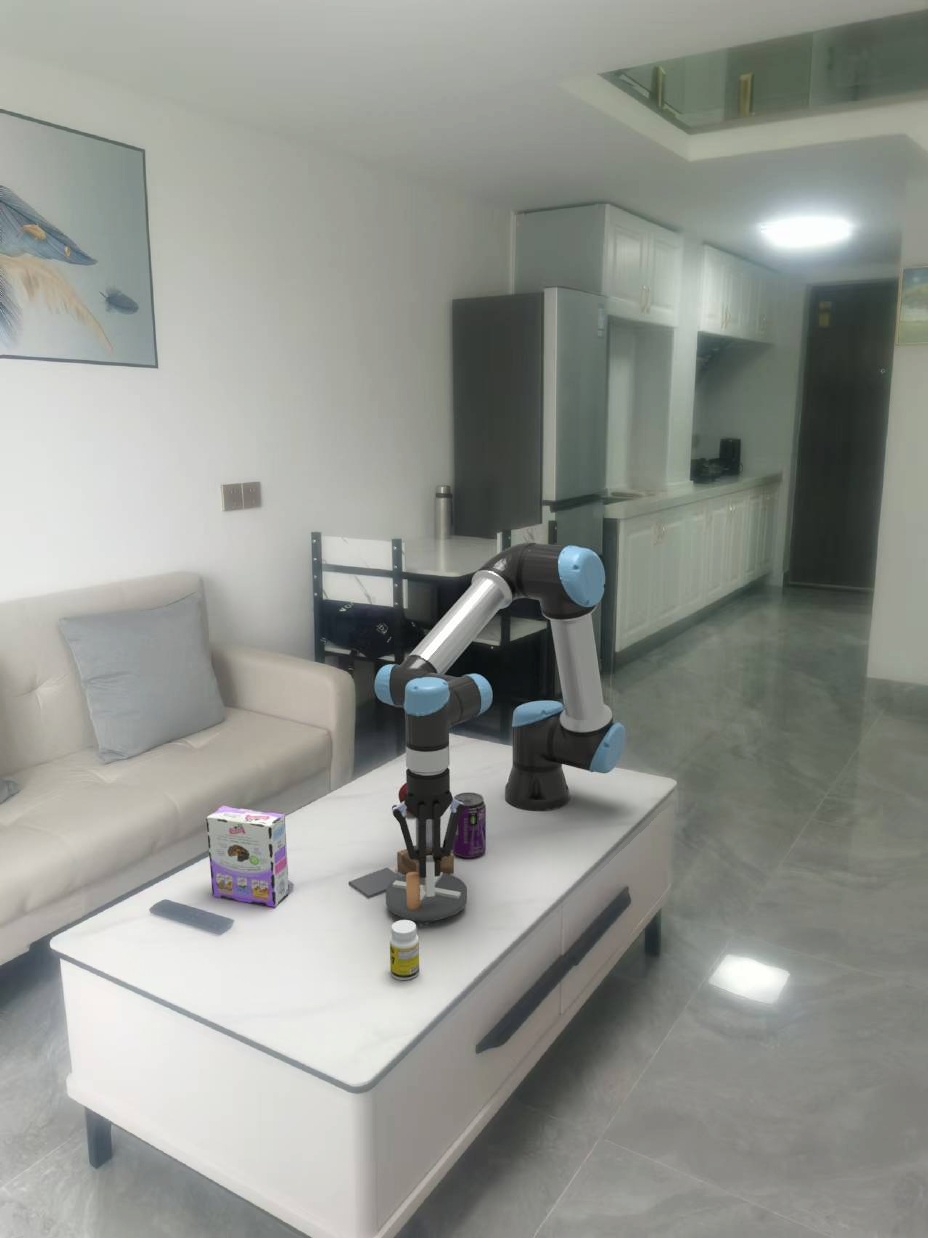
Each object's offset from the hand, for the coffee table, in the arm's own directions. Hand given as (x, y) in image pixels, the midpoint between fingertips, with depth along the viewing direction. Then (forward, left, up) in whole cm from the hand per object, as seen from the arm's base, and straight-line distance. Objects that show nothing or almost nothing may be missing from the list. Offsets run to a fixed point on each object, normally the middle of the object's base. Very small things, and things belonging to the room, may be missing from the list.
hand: (429, 892), depth 164 cm
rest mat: (-1, -18, -6) cm, 19 cm away
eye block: (-11, -16, -6) cm, 20 cm away
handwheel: (-3, -5, -4) cm, 7 cm away
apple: (-26, -40, -6) cm, 48 cm away
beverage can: (-23, -17, -6) cm, 29 cm away
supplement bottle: (+12, +9, -6) cm, 17 cm away
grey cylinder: (-11, -16, -6) cm, 20 cm away
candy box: (+20, -30, -6) cm, 36 cm away
